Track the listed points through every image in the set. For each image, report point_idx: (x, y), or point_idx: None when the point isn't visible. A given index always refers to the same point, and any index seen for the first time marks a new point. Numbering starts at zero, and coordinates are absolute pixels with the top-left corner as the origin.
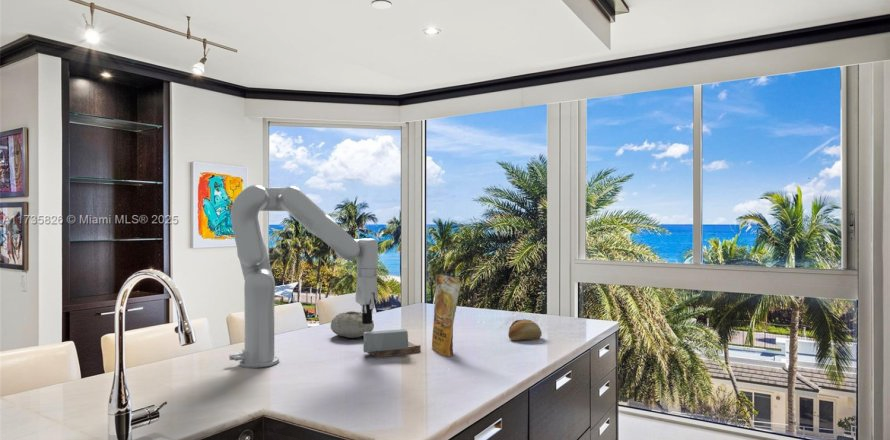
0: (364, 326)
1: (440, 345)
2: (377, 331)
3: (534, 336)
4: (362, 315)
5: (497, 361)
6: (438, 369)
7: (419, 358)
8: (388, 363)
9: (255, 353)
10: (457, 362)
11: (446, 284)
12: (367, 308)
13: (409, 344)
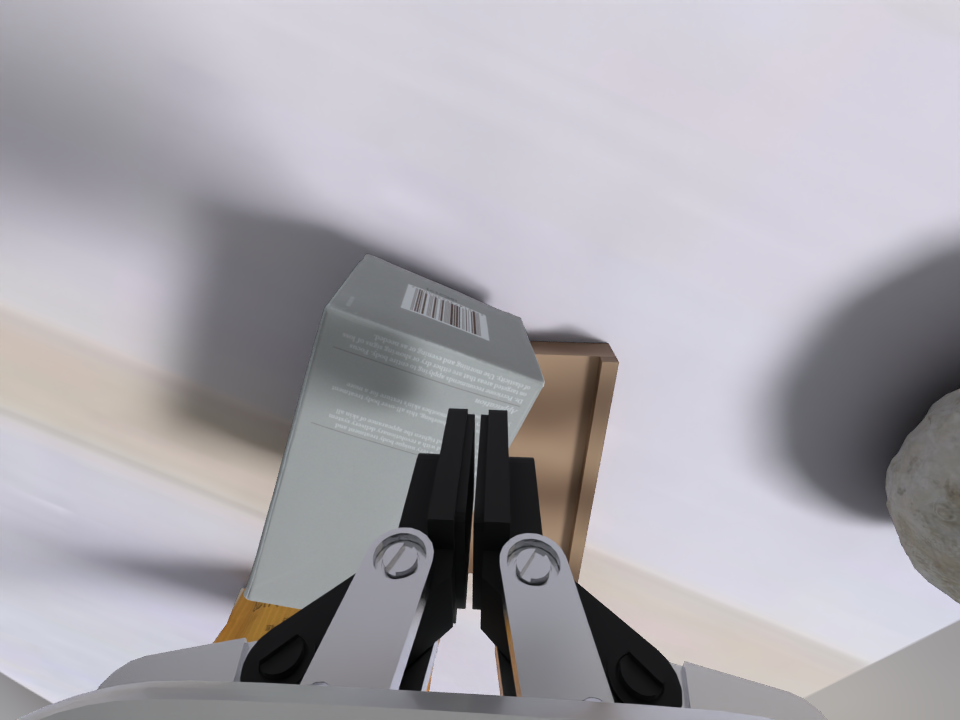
0: (932, 523)
1: (270, 621)
2: (407, 461)
3: None
4: (496, 482)
5: (134, 655)
6: (42, 470)
7: (265, 493)
8: (211, 329)
9: None
10: (149, 569)
11: None
12: (288, 638)
13: (471, 557)
